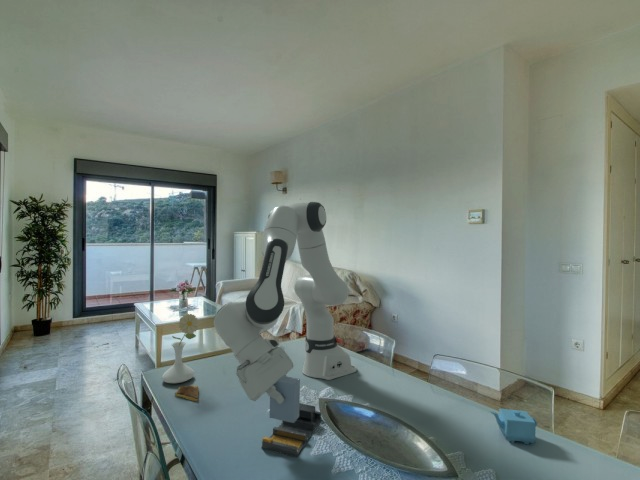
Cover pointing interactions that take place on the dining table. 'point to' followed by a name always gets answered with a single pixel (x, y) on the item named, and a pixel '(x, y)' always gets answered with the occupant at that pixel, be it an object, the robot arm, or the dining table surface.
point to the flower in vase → (180, 370)
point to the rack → (293, 432)
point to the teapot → (516, 425)
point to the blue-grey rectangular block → (286, 400)
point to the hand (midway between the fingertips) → (287, 397)
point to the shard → (188, 392)
